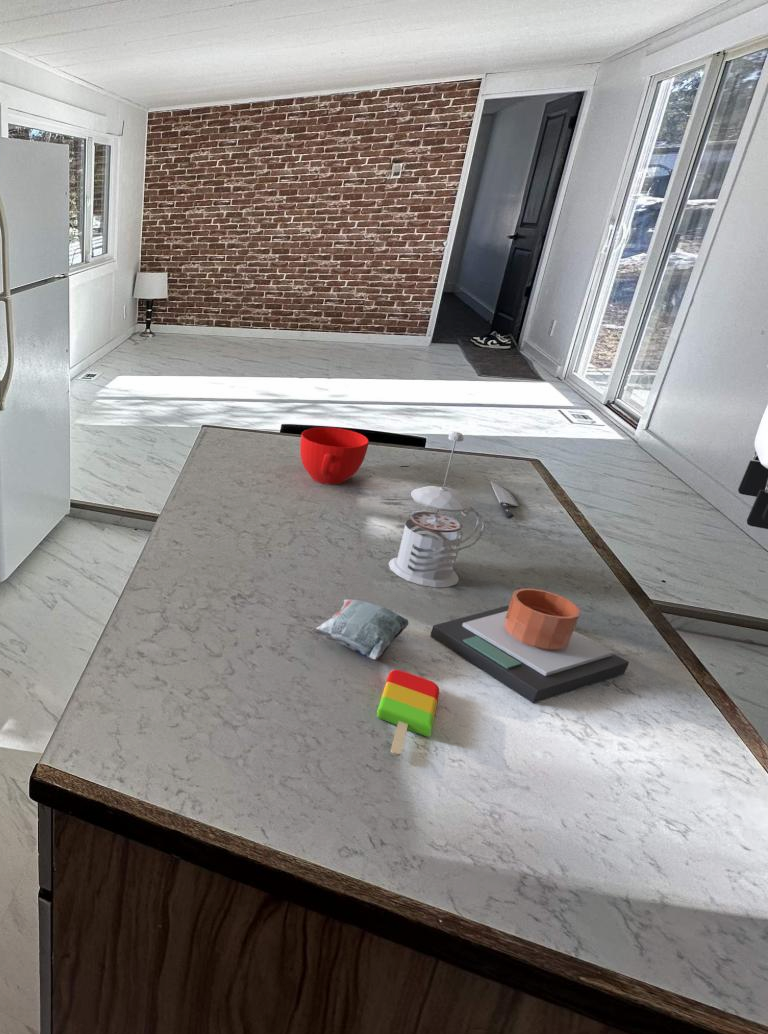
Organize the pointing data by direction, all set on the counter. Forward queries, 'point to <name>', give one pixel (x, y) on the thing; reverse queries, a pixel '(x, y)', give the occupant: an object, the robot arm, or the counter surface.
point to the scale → (527, 657)
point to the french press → (422, 560)
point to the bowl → (541, 619)
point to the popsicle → (408, 705)
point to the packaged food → (363, 627)
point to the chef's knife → (504, 499)
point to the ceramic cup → (332, 453)
